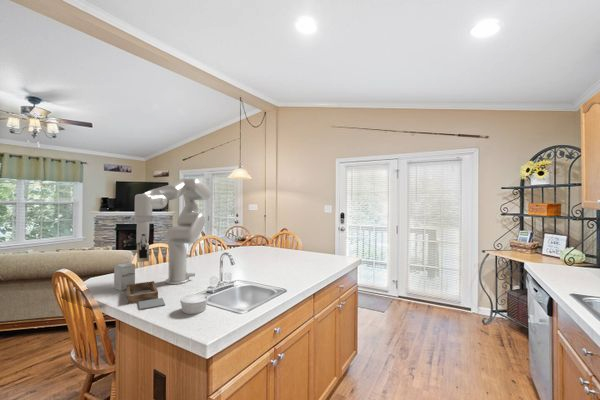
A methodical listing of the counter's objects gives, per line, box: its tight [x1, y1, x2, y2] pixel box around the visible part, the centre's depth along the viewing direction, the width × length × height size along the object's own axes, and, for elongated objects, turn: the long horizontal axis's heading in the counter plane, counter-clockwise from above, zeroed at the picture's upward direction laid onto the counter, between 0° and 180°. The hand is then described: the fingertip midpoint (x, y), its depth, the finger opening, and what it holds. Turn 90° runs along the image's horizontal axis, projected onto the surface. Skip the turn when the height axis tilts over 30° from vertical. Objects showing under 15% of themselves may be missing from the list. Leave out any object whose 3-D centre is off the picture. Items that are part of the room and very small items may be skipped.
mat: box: [137, 297, 166, 311], centre depth 131 cm, size 10×10×1 cm
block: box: [136, 242, 150, 263], centre depth 140 cm, size 5×5×8 cm
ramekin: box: [179, 293, 209, 315], centre depth 124 cm, size 11×11×5 cm
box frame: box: [126, 280, 159, 305], centre depth 143 cm, size 12×20×4 cm, turn 32°
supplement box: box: [113, 262, 136, 291], centre depth 154 cm, size 7×7×13 cm
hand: (142, 256), depth 140 cm, fingers closed on block, 5 cm apart
